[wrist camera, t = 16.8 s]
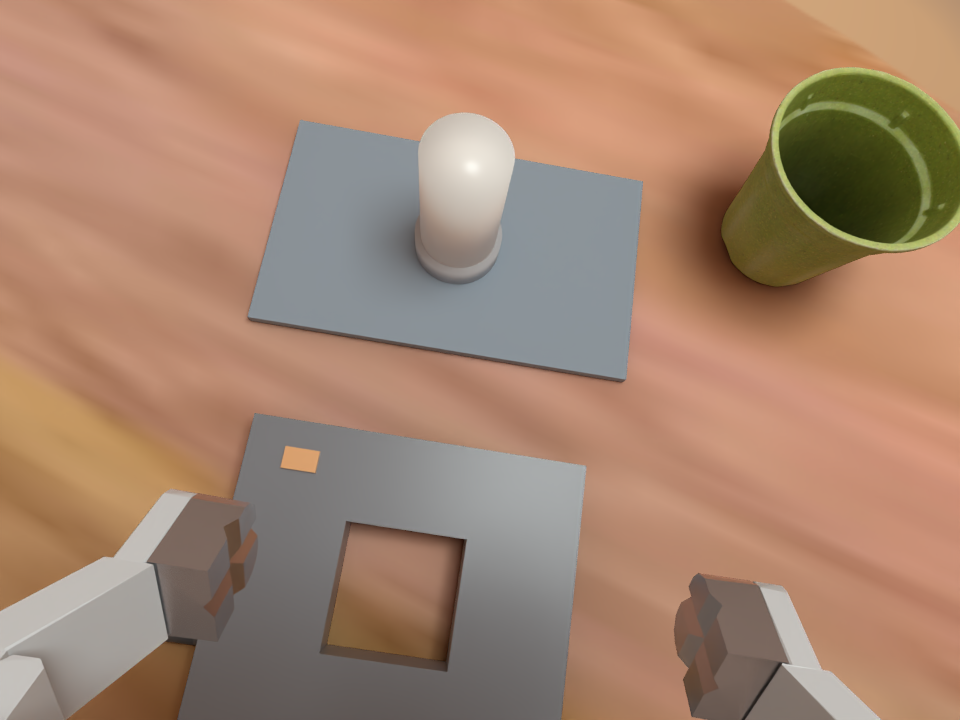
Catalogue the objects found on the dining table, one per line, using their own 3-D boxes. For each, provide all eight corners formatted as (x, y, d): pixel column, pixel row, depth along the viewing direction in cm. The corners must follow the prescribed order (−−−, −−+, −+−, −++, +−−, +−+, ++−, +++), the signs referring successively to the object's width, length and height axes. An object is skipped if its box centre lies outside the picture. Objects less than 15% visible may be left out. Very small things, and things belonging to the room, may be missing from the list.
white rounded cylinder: (504, 215, 34) (528, 117, 25) (492, 290, 32) (514, 213, 24) (423, 201, 33) (421, 97, 25) (408, 276, 32) (401, 193, 24)
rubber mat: (639, 187, 35) (642, 181, 35) (622, 382, 32) (626, 379, 32) (302, 126, 35) (300, 120, 34) (250, 320, 31) (247, 316, 31)
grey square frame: (576, 469, 31) (587, 465, 29) (544, 778, 27) (554, 800, 25) (166, 404, 30) (146, 395, 28) (74, 714, 26) (43, 731, 24)
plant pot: (818, 344, 34) (945, 286, 25) (667, 268, 34) (744, 187, 26) (865, 214, 36) (995, 122, 28) (724, 145, 37) (811, 35, 28)
